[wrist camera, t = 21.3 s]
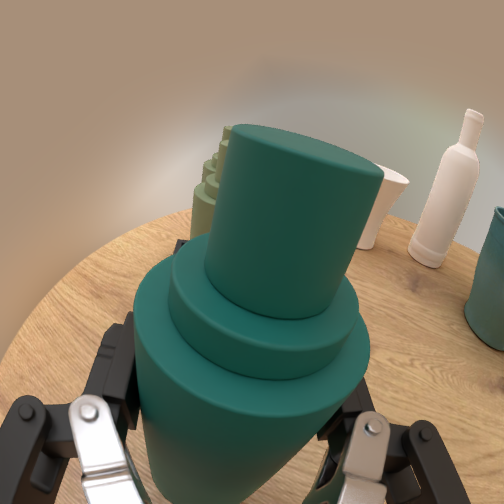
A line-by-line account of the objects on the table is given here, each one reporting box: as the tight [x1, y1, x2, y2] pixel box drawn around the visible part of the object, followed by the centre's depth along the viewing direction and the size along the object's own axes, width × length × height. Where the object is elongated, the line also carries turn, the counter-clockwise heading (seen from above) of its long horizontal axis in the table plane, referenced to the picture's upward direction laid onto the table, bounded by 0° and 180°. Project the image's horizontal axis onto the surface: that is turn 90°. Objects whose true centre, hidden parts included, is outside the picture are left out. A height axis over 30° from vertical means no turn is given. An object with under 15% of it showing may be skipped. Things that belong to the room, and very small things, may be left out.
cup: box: [356, 163, 409, 250], centre depth 48 cm, size 10×10×14 cm
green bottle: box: [190, 140, 229, 240], centre depth 26 cm, size 6×6×17 cm
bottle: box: [408, 109, 484, 268], centre depth 44 cm, size 8×8×30 cm
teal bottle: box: [133, 124, 384, 504], centre depth 9 cm, size 6×6×17 cm
